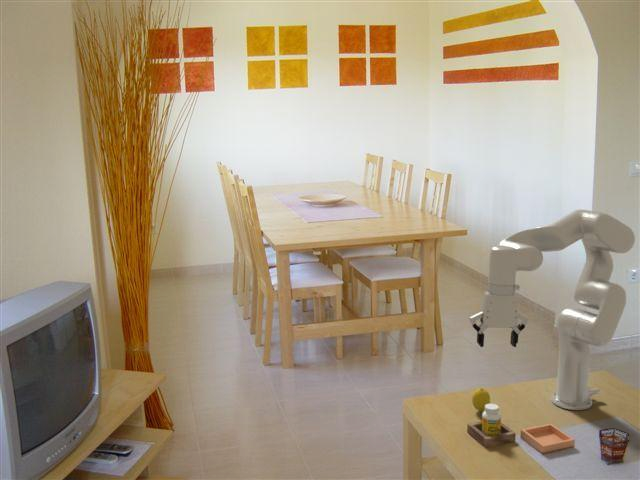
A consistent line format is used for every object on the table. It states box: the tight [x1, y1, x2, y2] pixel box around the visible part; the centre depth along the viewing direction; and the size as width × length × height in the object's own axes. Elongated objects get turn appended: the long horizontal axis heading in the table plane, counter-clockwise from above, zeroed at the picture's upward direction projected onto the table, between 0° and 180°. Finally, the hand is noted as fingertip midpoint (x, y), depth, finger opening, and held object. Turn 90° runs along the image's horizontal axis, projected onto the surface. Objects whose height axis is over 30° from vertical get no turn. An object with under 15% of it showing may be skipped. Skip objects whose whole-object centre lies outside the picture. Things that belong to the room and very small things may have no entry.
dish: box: [520, 422, 575, 455], centre depth 201 cm, size 11×11×2 cm
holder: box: [466, 420, 517, 448], centre depth 205 cm, size 10×10×2 cm
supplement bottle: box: [481, 403, 502, 437], centre depth 205 cm, size 5×5×10 cm
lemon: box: [471, 387, 491, 413], centre depth 221 cm, size 6×6×8 cm
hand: (496, 345), depth 203 cm, fingers open, 9 cm apart
